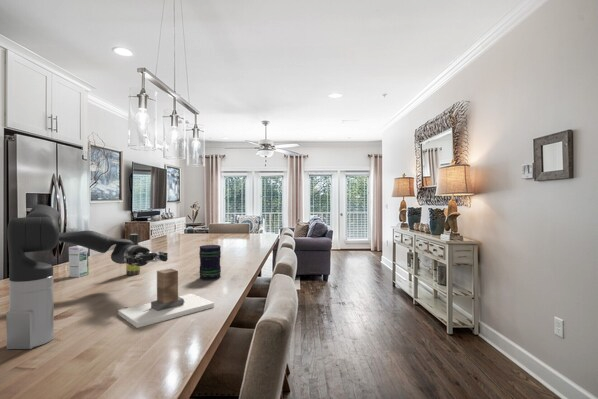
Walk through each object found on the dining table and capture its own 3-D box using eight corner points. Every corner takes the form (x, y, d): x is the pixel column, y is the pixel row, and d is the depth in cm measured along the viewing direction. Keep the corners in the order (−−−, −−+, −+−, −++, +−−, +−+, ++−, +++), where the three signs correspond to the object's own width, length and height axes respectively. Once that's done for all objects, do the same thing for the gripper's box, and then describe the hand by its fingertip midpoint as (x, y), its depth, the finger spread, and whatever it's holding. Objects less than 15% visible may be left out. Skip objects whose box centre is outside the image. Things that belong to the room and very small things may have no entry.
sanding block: (157, 311, 109) (157, 274, 109) (151, 307, 113) (151, 271, 113) (183, 304, 116) (183, 269, 116) (176, 301, 119) (176, 267, 119)
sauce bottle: (131, 276, 163) (131, 235, 163) (123, 274, 166) (123, 234, 166) (143, 273, 169) (143, 233, 169) (135, 272, 172) (135, 233, 172)
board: (137, 327, 99) (137, 322, 99) (118, 314, 111) (118, 310, 111) (214, 307, 118) (214, 302, 118) (191, 297, 129) (191, 293, 129)
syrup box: (79, 277, 161) (78, 247, 161) (68, 276, 162) (68, 246, 162) (88, 274, 166) (88, 245, 166) (78, 274, 168) (78, 244, 168)
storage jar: (212, 274, 167) (212, 244, 167) (225, 277, 161) (225, 246, 161) (195, 278, 160) (195, 246, 159) (207, 281, 153) (207, 248, 153)
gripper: (117, 247, 128) (133, 252, 116) (155, 244, 138) (173, 247, 127) (117, 267, 128) (133, 273, 116) (155, 262, 138) (173, 267, 127)
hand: (154, 260), depth 122 cm, fingers open, 8 cm apart
